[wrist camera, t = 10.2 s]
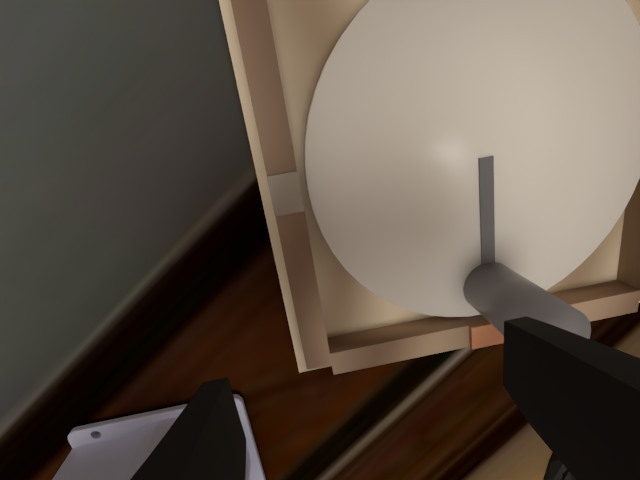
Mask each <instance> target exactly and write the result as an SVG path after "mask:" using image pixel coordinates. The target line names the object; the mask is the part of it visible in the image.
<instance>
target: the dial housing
mask: <svg viewBox="0 0 640 480" xmlns="http://www.w3.org/2000/svg"><path fill="white" fill-rule="evenodd" d="M369 1H370V0H219V4H220V8H221V13H222V18H223V22H224V27H225V31H226V36H227V41H228V45H229V50H230V55H231V59H232V64H233V69H234V73H235V78H236V82H237V87H238V92H239V96H240V101H241V106H242V110H243V115H244V119H245V124H246V129H247V133H248V138H249V143H250V147H251V152H252V156H253V161H254V166H255V170H256V175H257V180H258V184H259V189H260V194H261V198H262V203H263V207H264V212H265V217H266V221H267V226H268V231H269V235H270V240H271V244H272V249H273V254H274V258H275V263H276V268H277V272H278V277H279V281H280V286H281V291H282V295H283V300H284V305H285V309H286V314H287V319H288V323H289V328H290V332H291V337H292V342H293V346H294V351H295V356H296V360H297V365H298V369H299V373H300V372H305V371H309V370H314V369H319V368H324V367H329V366H332V370H333V374H334V375H335V374H340V373H345V372H349V371H354V370H359V369H364V368H369V367H373V366H378V365H383V364H388V363H393V362H398V361H402V360H407V359H412V358H417V357H422V356H426V355H431V354H436V353H441V352H446V351H450V350H455V349H460V348H465V347H470V348H471V349H477V348H482V347H486V346H491V345H496V344H501V343H504V335H503V334H501V333H500V332H499V331H498V330H497V329H496V328H495V327H494V326H493V325H492V324H491V323H490V322H488V321H487V320H486V319H485V318H484V317H483V316H482V315H475V316H469V317H442V316H431V315H426V314H422V313H417V312H413V311H410V310H407V309H404V308H401V307H399V306H396V305H393V304H391V303H390V302H388V301H386V300H384V299H382V298H380V297H378V296H376V295H375V294H374V293H372V292H371V291H370V290H368V289H367V288H365V287H364V286H363V285H361V284H360V283H359V282H358V281H357V280H356V279H355V278H354V277H353V276H352V275H351V274H350V273H349V272H348V271H347V270H346V269H345V268H344V267H343V265H342V264H341V263H340V262H339V260H338V259H337V258H336V256H335V255H334V254H333V252H332V250H331V249H330V247H329V245H328V243H327V242H326V240H325V238H324V236H323V235H322V232H321V230H320V227H319V225H318V222H317V220H316V217H315V215H314V212H313V210H312V207H311V203H310V199H309V195H308V191H307V187H306V179H305V170H304V136H305V129H306V122H307V115H308V111H309V107H310V104H311V100H312V96H313V92H314V89H315V87H316V84H317V82H318V79H319V77H320V74H321V72H322V69H323V67H324V65H325V63H326V61H327V59H328V58H329V56H330V54H331V52H332V50H333V49H334V47H335V45H336V43H337V42H338V40H339V39H340V37H341V35H342V34H343V33H344V31H345V30H346V29H347V27H348V26H349V25H350V23H351V22H352V21H353V19H354V18H355V16H356V15H357V14H358V12H359V11H360V10H361V9H362V8H363V7H364V6H365V5H366V4H367V3H368V2H369ZM626 2H627V3H628V5H629V6H630V7H631V9H632V11H633V13H634V15H635V17H636V19H637V21H638V23H639V25H640V0H626ZM546 291H548V292H549V293H551V294H553V295H554V296H556V297H558V298H559V299H561V300H562V301H564V302H566V303H567V304H569V305H571V306H572V307H574V308H576V309H577V310H579V311H581V312H582V313H584V314H585V315H586V317H587V318H588V320H589V322H590V321H595V320H600V319H605V318H609V317H614V316H619V315H624V314H629V313H633V312H637V311H638V304H639V302H640V178H639V181H638V183H637V185H636V188H635V190H634V193H633V195H632V196H631V198H630V200H629V202H628V204H627V206H626V208H625V209H624V211H623V213H622V215H621V216H620V218H619V219H618V221H617V222H616V224H615V225H614V227H613V228H612V230H611V231H610V233H609V234H608V235H607V236H606V237H605V239H604V240H603V241H602V242H601V244H600V245H599V246H598V247H597V248H596V250H595V251H594V252H593V253H592V254H591V255H590V256H589V257H588V258H587V259H586V260H585V261H584V262H583V263H582V264H581V265H580V266H578V267H577V268H576V269H575V270H574V271H572V272H571V273H570V274H569V275H567V276H566V277H565V278H564V279H562V280H561V281H559V282H558V283H556V284H555V285H553V286H552V287H550V288H549V289H547V290H546Z"/></svg>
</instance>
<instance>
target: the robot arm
mask: <svg viewBox="0 0 640 480" xmlns="http://www.w3.org/2000/svg"><path fill="white" fill-rule="evenodd" d="M503 385H504V386H505V388H506V390H507V391H508V393H509V394H510V396H511V397H512V399H513V401H514V402H515V404H516V405H517V407H518V408H519V410H520V411H521V412H522V414H523V415H524V417H525V418H526V420H527V421H528V423H529V424H530V425H531V426H532V427H533V429H534V430H535V431H536V432H537V434H538V435H539V436H540V437H541V438H542V440H543V441H544V442H545V443H546V444H547V446H548V447H549V448H550V449H551V450H552V452H553V453H554V454H555V455H556V456H557V457H558V459H559V460H560V461H561V462H562V463H563V465H564V466H565V467H566V468H567V469H568V470H569V472H570V473H571V474H572V475H573V476H574V477H575V479H576V480H640V358H638V357H635V356H632V355H630V354H627V353H624V352H622V351H619V350H616V349H614V348H611V347H608V346H606V345H603V344H601V343H598V342H595V341H593V340H590V339H588V338H585V337H582V336H580V335H577V334H575V333H572V332H569V331H567V330H564V329H561V328H559V327H556V326H553V325H551V324H548V323H545V322H542V321H540V320H537V319H533V318H530V317H527V316H525V317H521V318H516V319H511V320H506V321H504V374H503ZM96 431H98V432H100V433H98V432H96ZM68 441H69V443H70V445H71V447H72V450H71V452H70V453H69V455H68V456H67V458H66V459H65V461H64V462H63V464H62V465H61V467H60V469H59V470H58V472H57V473H56V475H55V476H54V478H53V479H52V480H266V478H265V474H264V471H263V467H262V464H261V460H260V457H259V453H258V450H257V446H256V443H255V439H254V436H253V432H252V429H251V425H250V422H249V418H248V415H247V411H246V408H245V404H244V401H243V398H242V397H241V396H240V395H237V394H233V393H232V390H231V386H230V383H229V380H228V378H223V379H218V380H213V381H208V382H204V383H203V384H202V385H201V386H200V388H199V389H198V390H197V392H196V393H195V395H194V396H193V397H192V399H191V400H190V401H189V403H188V404H183V405H179V406H174V407H169V408H164V409H159V410H155V411H150V412H145V413H140V414H135V415H130V416H126V417H121V418H116V419H111V420H106V421H102V422H97V423H92V424H87V425H82V426H77V427H75V428H73V429H72V430H71V431H70V433H69V434H68Z"/></svg>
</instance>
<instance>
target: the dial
mask: <svg viewBox="0 0 640 480" xmlns="http://www.w3.org/2000/svg"><path fill="white" fill-rule="evenodd" d="M304 170H305V179H306V187H307V191H308V195H309V199H310V203H311V207H312V210H313V212H314V215H315V217H316V220H317V222H318V225H319V227H320V230H321V232H322V235H323V236H324V238H325V240H326V242H327V243H328V245H329V247H330V249H331V250H332V252H333V254H334V255H335V256H336V258H337V259H338V260H339V262H340V263H341V264H342V265H343V267H344V268H345V269H346V270H347V271H348V272H349V273H350V274H351V275H352V276H353V277H354V278H355V279H356V280H357V281H358V282H359V283H360V284H361V285H363V286H364V287H365V288H367V289H368V290H370V291H371V292H372V293H374V294H375V295H376V296H378V297H380V298H382V299H384V300H386V301H388V302H390V303H391V304H393V305H396V306H399V307H401V308H404V309H407V310H410V311H413V312H417V313H422V314H426V315H431V316H442V317H469V316H475V315H482V316H483V317H484V318H485V319H486V320H487V321H488V322H490V323H491V324H492V325H493V326H494V327H495V328H496V329H497V330H498V331H499V332H500V333H501V334H503V335H504V321H506V320H511V319H516V318H521V317H525V316H527V317H530V318H533V319H537V320H540V321H542V322H545V323H548V324H551V325H553V326H556V327H559V328H561V329H564V330H567V331H569V332H572V333H575V334H577V335H580V336H582V337H585V338H588V339H589V338H590V334H591V326H590V322H589V320H588V318H587V317H586V315H585V314H584V313H582V312H581V311H579V310H577V309H576V308H574V307H572V306H571V305H569V304H567V303H566V302H564V301H562V300H561V299H559V298H558V297H556V296H554V295H553V294H551V293H549V292H548V291H546V290H547V289H549V288H550V287H552V286H553V285H555V284H556V283H558V282H559V281H561V280H562V279H564V278H565V277H566V276H567V275H569V274H570V273H571V272H572V271H574V270H575V269H576V268H577V267H578V266H580V265H581V264H582V263H583V262H584V261H585V260H586V259H587V258H588V257H589V256H590V255H591V254H592V253H593V252H594V251H595V250H596V248H597V247H598V246H599V245H600V244H601V242H602V241H603V240H604V239H605V237H606V236H607V235H608V234H609V233H610V231H611V230H612V228H613V227H614V225H615V224H616V222H617V221H618V219H619V218H620V216H621V215H622V213H623V211H624V209H625V208H626V206H627V204H628V202H629V200H630V198H631V196H632V195H633V193H634V190H635V188H636V185H637V183H638V181H639V178H640V25H639V23H638V21H637V19H636V17H635V15H634V13H633V11H632V9H631V7H630V6H629V5H628V3H627V2H626V0H370V1H369V2H368V3H367V4H366V5H365V6H364V7H363V8H362V9H361V10H360V11H359V12H358V14H357V15H356V16H355V18H354V19H353V21H352V22H351V23H350V25H349V26H348V27H347V29H346V30H345V31H344V33H343V34H342V35H341V37H340V39H339V40H338V42H337V43H336V45H335V47H334V49H333V50H332V52H331V54H330V56H329V58H328V59H327V61H326V63H325V65H324V67H323V69H322V72H321V74H320V77H319V79H318V82H317V84H316V87H315V89H314V92H313V96H312V100H311V104H310V107H309V111H308V115H307V122H306V129H305V136H304Z"/></svg>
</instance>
